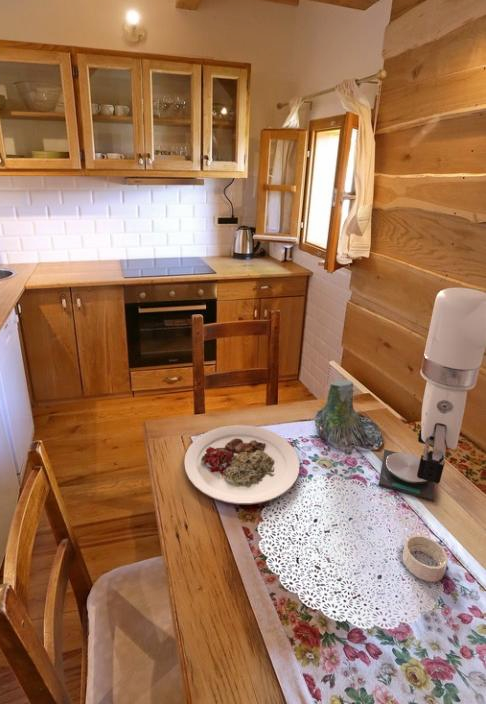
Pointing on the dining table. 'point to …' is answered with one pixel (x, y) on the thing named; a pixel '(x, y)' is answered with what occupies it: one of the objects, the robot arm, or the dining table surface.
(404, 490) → the scale
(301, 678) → the dining table surface
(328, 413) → the tree stump
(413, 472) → the scale pan
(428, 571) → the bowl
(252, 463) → the plated food
